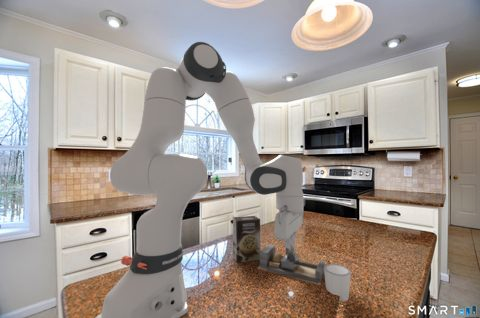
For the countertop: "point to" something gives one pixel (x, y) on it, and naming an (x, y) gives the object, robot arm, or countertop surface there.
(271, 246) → the grey holder tray
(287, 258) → the ram
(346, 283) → the shot glass
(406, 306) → the countertop surface
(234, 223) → the coffee box
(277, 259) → the walnut
